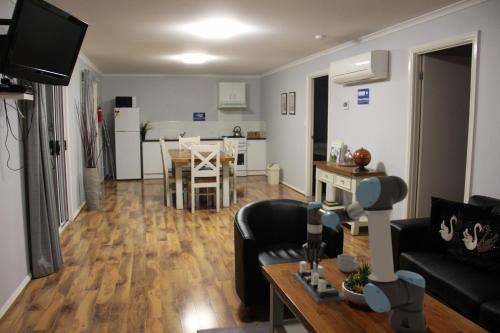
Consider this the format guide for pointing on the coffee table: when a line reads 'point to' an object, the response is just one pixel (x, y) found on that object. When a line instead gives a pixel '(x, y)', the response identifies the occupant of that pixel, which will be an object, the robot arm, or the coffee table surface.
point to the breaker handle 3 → (320, 271)
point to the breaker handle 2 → (314, 278)
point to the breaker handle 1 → (303, 266)
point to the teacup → (347, 262)
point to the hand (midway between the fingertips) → (313, 274)
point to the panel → (313, 293)
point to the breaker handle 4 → (321, 285)
